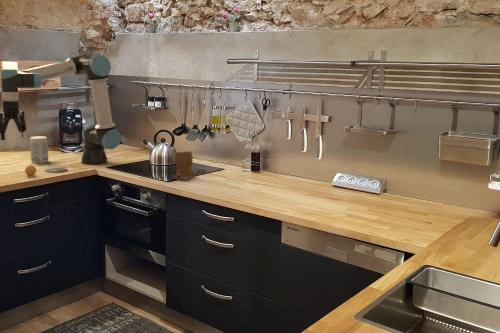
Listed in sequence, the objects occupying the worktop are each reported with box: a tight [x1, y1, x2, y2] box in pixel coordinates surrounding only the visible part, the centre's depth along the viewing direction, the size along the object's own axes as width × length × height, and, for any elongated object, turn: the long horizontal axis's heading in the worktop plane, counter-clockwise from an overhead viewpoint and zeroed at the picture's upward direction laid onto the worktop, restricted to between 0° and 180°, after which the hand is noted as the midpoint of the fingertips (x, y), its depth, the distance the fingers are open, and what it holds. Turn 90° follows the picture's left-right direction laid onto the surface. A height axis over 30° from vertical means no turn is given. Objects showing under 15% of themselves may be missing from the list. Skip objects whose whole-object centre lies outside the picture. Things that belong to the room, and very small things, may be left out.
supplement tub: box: [29, 135, 49, 164], centre depth 310 cm, size 10×10×15 cm
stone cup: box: [172, 150, 198, 181], centre depth 284 cm, size 15×12×15 cm
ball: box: [24, 164, 37, 177], centre depth 275 cm, size 6×6×6 cm
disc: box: [44, 167, 69, 174], centre depth 290 cm, size 12×12×1 cm
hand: (12, 145), depth 264 cm, fingers open, 8 cm apart
